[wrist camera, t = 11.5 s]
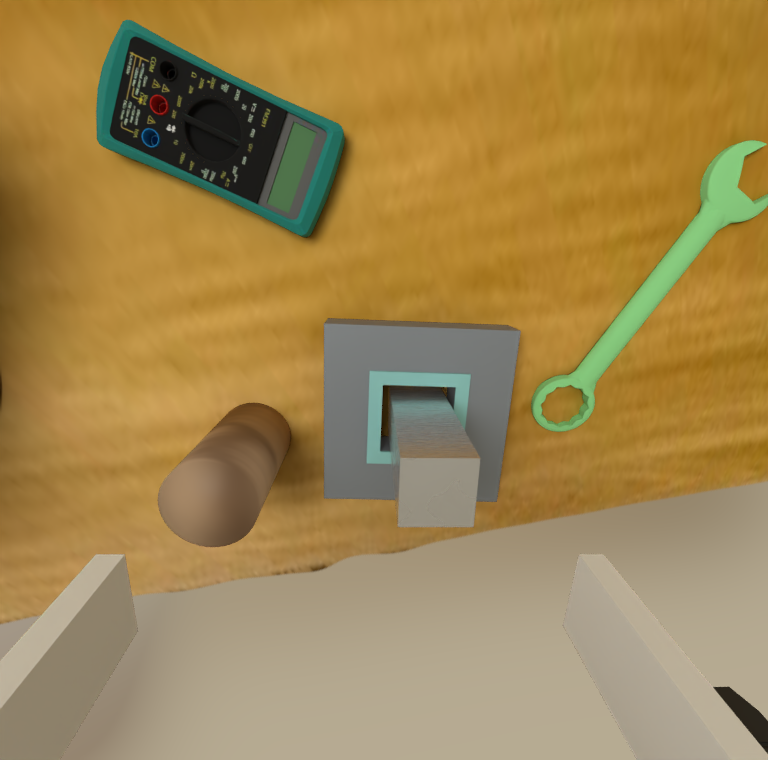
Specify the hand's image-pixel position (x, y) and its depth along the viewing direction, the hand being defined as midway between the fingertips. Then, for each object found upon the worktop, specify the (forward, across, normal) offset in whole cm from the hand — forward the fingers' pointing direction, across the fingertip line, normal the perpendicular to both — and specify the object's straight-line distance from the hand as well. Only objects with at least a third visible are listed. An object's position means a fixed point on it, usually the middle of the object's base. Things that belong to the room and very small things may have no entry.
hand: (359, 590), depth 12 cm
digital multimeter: (+22, -9, +16) cm, 29 cm away
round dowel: (+21, -9, -5) cm, 24 cm away
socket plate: (+21, +4, -2) cm, 22 cm away
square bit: (+21, +4, -2) cm, 22 cm away
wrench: (+22, +22, +7) cm, 31 cm away
